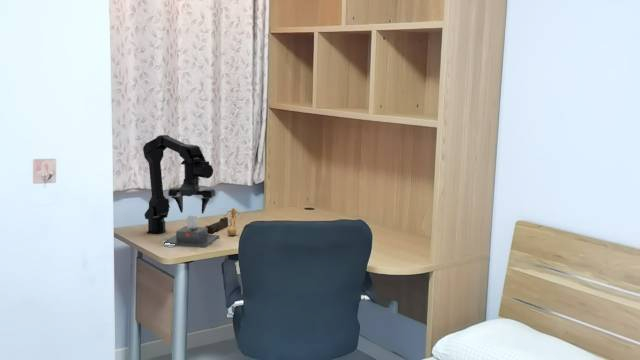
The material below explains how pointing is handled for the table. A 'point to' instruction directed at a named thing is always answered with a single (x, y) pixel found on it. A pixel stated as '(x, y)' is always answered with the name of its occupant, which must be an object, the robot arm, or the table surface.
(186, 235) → the stand
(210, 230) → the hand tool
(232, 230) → the figurine
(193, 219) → the column
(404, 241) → the table surface
